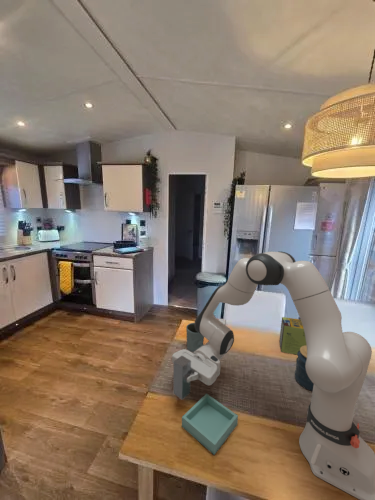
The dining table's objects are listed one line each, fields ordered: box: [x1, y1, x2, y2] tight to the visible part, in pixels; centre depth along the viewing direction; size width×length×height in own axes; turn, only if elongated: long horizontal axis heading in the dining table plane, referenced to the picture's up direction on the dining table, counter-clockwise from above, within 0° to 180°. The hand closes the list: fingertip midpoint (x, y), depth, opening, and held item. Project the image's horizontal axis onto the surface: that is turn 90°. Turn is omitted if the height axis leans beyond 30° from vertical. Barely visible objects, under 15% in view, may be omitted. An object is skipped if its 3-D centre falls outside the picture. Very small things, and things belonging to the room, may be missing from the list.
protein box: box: [278, 316, 306, 356], centre depth 126 cm, size 10×15×16 cm
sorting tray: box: [181, 393, 239, 456], centre depth 82 cm, size 14×14×4 cm
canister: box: [294, 345, 314, 392], centre depth 103 cm, size 13×13×18 cm
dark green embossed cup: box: [185, 322, 205, 353], centre depth 126 cm, size 10×10×12 cm
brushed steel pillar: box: [173, 356, 192, 401], centre depth 89 cm, size 5×5×14 cm
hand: (180, 376), depth 88 cm, fingers closed on brushed steel pillar, 5 cm apart
